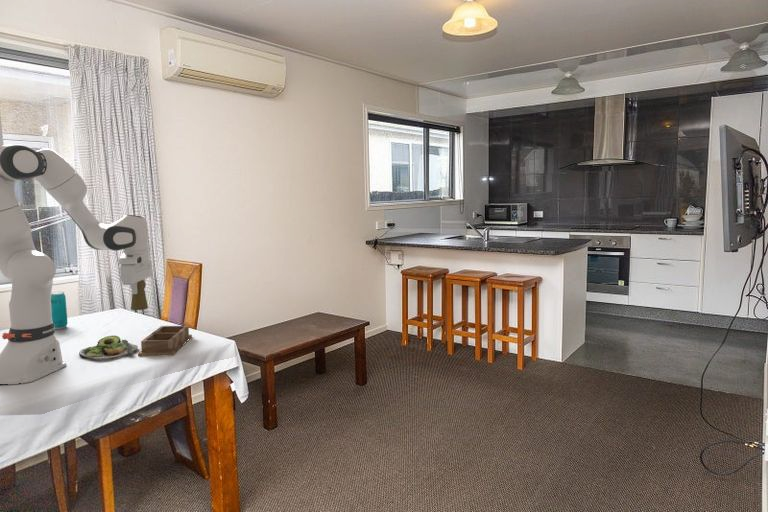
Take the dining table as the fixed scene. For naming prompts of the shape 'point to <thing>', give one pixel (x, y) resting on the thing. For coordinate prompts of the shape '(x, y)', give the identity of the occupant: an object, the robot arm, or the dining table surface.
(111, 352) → the salad plate
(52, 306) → the beverage can
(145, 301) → the cork
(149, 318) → the dining table surface
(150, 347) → the walnut rack
